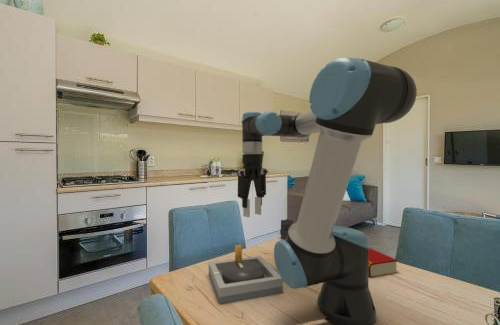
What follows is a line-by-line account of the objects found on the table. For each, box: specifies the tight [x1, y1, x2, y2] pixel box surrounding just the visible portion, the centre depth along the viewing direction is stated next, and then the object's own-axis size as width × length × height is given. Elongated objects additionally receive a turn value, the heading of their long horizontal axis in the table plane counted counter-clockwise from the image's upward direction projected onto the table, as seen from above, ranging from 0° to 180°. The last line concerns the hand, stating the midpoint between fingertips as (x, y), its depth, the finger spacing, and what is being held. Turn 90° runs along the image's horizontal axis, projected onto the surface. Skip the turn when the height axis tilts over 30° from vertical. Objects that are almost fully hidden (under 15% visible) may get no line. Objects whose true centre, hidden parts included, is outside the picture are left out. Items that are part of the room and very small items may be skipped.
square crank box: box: [208, 255, 284, 305], centre depth 85 cm, size 20×20×5 cm
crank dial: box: [222, 244, 264, 284], centre depth 85 cm, size 14×14×8 cm
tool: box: [279, 218, 294, 240], centre depth 110 cm, size 6×19×15 cm, turn 174°
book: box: [368, 247, 398, 278], centre depth 100 cm, size 18×13×5 cm
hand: (252, 215), depth 95 cm, fingers open, 5 cm apart
